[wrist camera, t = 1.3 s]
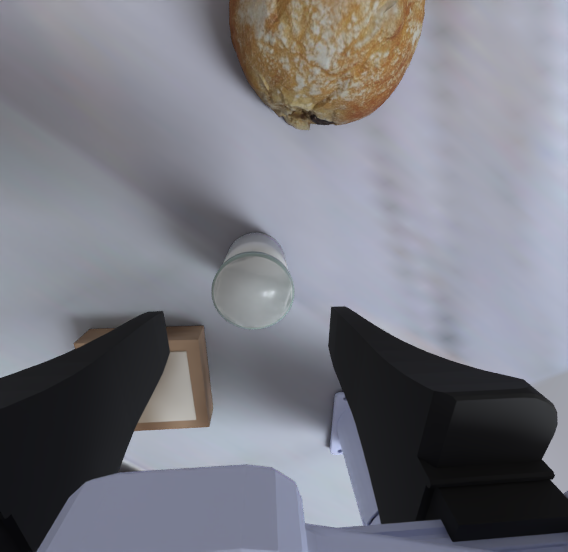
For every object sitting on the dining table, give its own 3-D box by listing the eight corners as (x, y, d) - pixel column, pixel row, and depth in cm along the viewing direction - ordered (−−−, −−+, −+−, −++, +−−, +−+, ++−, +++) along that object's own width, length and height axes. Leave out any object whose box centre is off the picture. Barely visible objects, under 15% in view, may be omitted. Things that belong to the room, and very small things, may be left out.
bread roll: (242, 111, 20) (238, 155, 15) (217, -132, 13) (189, -222, 7) (372, 107, 21) (414, 148, 15) (419, -130, 13) (534, -213, 8)
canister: (286, 231, 20) (295, 253, 15) (286, 288, 22) (293, 328, 16) (223, 231, 20) (207, 255, 14) (228, 289, 21) (215, 330, 16)
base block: (203, 325, 22) (197, 340, 20) (213, 408, 26) (208, 427, 24) (89, 328, 22) (72, 344, 20) (114, 413, 25) (101, 433, 23)
